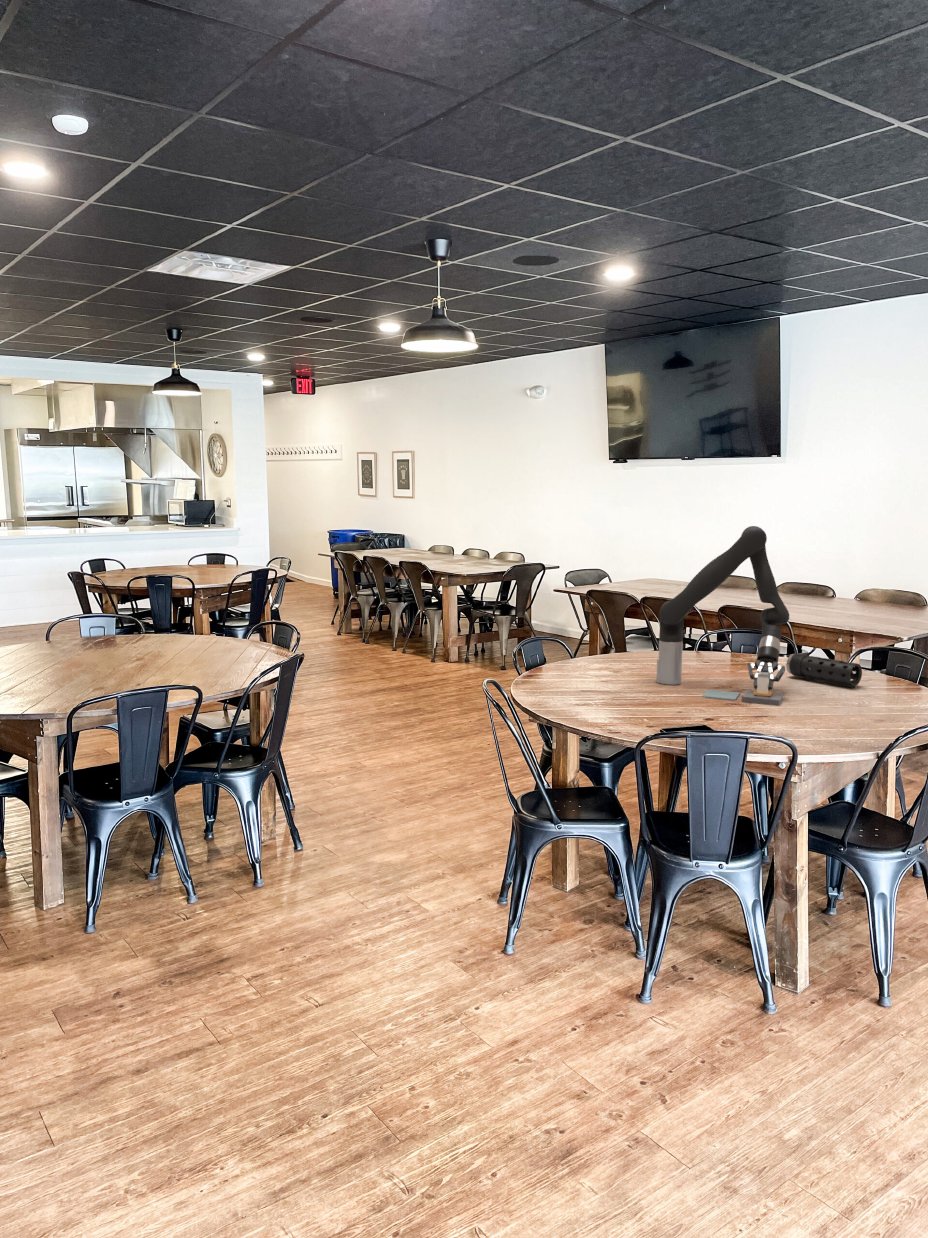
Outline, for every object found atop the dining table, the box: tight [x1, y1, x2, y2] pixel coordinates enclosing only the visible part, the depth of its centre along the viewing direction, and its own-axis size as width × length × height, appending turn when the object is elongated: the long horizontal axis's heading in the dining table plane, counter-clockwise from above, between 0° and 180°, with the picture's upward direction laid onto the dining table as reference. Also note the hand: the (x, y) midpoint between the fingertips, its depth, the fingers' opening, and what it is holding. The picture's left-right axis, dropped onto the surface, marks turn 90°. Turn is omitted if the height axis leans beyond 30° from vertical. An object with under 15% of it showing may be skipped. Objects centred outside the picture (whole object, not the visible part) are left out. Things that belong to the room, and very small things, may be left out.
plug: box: [753, 672, 774, 697], centre depth 320 cm, size 6×6×10 cm
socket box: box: [741, 689, 785, 707], centre depth 321 cm, size 13×13×2 cm
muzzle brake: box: [785, 652, 863, 689], centre depth 350 cm, size 10×28×10 cm, turn 37°
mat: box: [701, 688, 741, 702], centre depth 328 cm, size 12×12×1 cm
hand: (762, 688), depth 319 cm, fingers closed on plug, 4 cm apart
